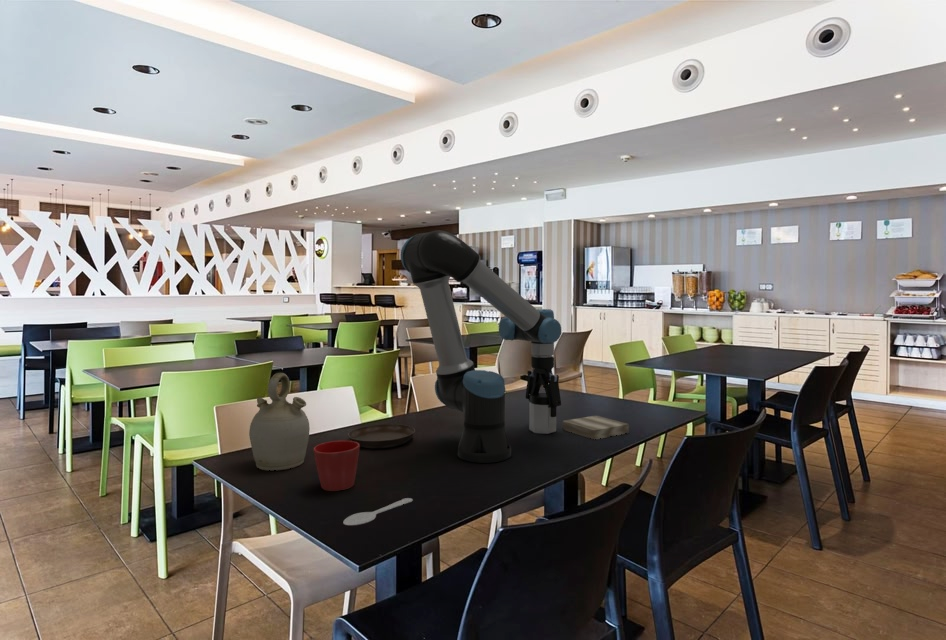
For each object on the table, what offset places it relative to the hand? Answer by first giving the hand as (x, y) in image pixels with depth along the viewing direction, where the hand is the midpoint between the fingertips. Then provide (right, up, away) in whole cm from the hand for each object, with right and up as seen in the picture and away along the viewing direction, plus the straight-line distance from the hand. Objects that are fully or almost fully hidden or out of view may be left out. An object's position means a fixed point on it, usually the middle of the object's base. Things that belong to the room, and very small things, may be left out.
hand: (542, 423), depth 184 cm
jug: (-76, -5, -33) cm, 83 cm away
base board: (+17, -2, -1) cm, 17 cm away
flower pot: (-56, -6, -51) cm, 76 cm away
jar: (0, -3, 0) cm, 3 cm away
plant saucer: (-52, -4, -11) cm, 53 cm away
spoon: (-43, -7, -66) cm, 79 cm away
